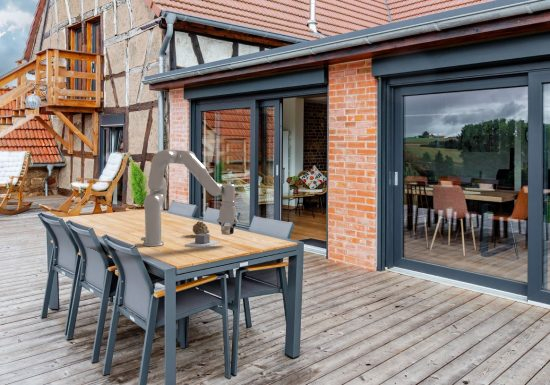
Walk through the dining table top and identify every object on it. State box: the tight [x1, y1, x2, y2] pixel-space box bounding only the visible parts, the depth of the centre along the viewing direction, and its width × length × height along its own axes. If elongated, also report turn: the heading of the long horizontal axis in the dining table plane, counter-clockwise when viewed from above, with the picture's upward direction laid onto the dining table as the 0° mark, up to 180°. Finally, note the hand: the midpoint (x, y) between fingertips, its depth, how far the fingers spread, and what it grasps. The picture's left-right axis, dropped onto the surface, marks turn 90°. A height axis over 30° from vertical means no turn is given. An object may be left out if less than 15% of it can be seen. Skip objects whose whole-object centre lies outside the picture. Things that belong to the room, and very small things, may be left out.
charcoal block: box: [194, 233, 211, 244], centre depth 300 cm, size 6×6×5 cm
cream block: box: [221, 224, 232, 236], centre depth 297 cm, size 5×5×5 cm
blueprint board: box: [184, 239, 220, 249], centre depth 300 cm, size 14×18×1 cm
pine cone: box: [191, 221, 210, 235], centre depth 326 cm, size 22×10×10 cm, turn 37°
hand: (227, 233), depth 297 cm, fingers closed on cream block, 5 cm apart
